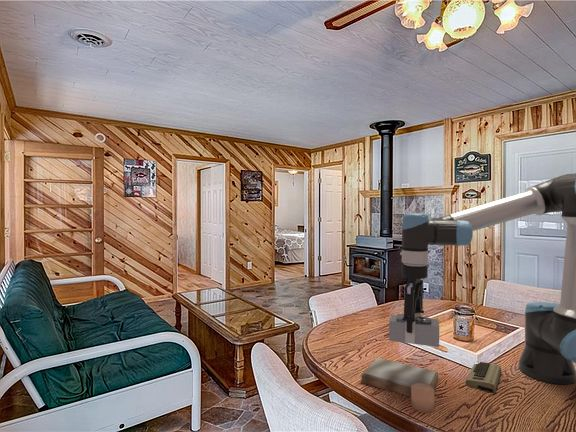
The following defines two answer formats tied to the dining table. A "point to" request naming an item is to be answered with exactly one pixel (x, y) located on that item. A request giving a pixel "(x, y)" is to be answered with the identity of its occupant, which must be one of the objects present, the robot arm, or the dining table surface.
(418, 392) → the beige egg
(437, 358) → the dining table surface
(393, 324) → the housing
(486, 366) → the computer
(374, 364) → the stand
